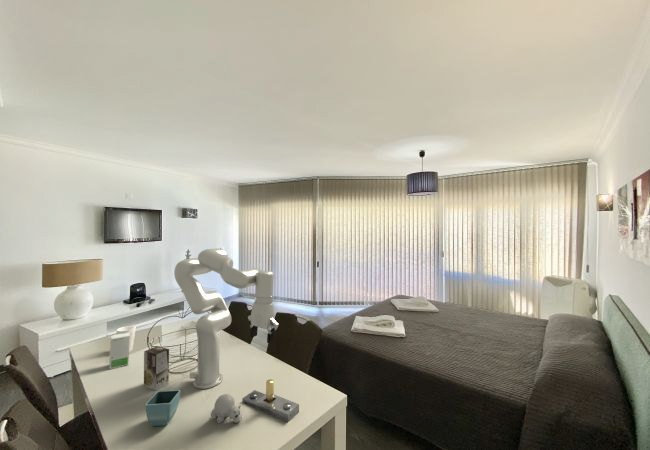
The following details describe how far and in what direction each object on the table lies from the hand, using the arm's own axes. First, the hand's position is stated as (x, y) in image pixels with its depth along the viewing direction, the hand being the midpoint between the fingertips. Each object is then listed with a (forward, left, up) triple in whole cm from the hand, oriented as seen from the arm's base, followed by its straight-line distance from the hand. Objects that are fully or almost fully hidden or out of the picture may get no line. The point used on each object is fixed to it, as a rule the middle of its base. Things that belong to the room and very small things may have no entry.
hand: (261, 339), depth 118 cm
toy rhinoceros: (-9, -16, -24) cm, 30 cm away
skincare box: (-83, +27, -24) cm, 90 cm away
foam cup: (-93, +45, -24) cm, 106 cm away
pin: (+5, -7, -24) cm, 26 cm away
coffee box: (-51, +8, -24) cm, 57 cm away
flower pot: (-33, -16, -24) cm, 44 cm away
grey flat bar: (+5, -7, -24) cm, 26 cm away
